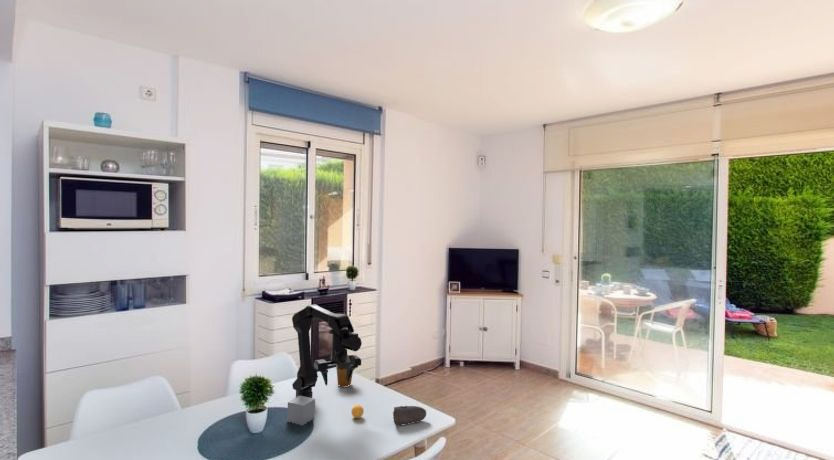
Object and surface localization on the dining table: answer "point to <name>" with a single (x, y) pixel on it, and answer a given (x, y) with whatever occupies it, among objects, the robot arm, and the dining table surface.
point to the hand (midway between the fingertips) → (337, 383)
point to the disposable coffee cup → (343, 377)
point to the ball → (357, 411)
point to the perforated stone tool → (408, 414)
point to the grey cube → (301, 410)
